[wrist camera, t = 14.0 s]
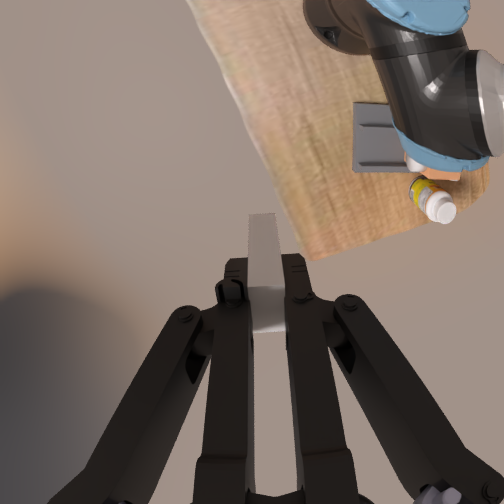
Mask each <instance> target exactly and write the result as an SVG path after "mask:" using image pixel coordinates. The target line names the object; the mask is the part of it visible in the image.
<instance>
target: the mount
mask: <svg viewBox="0 0 504 504" xmlns="http://www.w3.org/2000/svg"><path fill="white" fill-rule="evenodd" d="M404 155H405V150H404V149H403V147H402V145H401V142H400V139H399V136H398V133H397V131H396V129H395V127H394V126H393V123H392V113H391V110H390V107H389V104H374V103H354V102H353V165H352V170H353V171H354V172H405V173H420V172H411V171H410V170H409V169H408V167H407V164H406V162H405V161H404ZM451 181H458V180H451Z"/></svg>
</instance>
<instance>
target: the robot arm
mask: <svg viewBox="0 0 504 504" xmlns="http://www.w3.org/2000/svg"><path fill="white" fill-rule="evenodd" d="M469 9H470V0H303V12H304V16H305V19H306V22H307V24H308V26H309V27H310V29H311V30H312V32H313V33H314V34H315V35H316V37H317V38H318V39H320V40H321V41H322V42H323V43H324V44H326V45H327V46H329V47H330V48H332V49H334V50H336V51H339V52H342V53H345V54H350V55H368V54H371V56H372V59H373V62H374V64H375V67H376V70H377V72H378V75H379V78H380V80H381V83H382V86H383V89H384V92H385V95H386V98H387V101H388V104H389V107H390V110H391V113H392V123H393V126H394V127H395V129H396V131H397V133H398V136H399V139H400V142H401V145H402V147H403V149H404V150H405V152H406V153H407V155H408V156H409V157H410V158H412V159H413V160H414V161H416V162H417V163H419V164H421V165H423V166H425V167H428V168H431V169H435V170H439V171H445V172H462V170H463V169H464V170H467V171H473V170H477V169H479V168H481V167H482V166H484V165H485V164H486V163H487V162H488V160H489V157H490V156H493V157H500V156H501V155H502V154H503V153H504V64H502V63H500V62H498V61H497V60H496V59H495V58H494V57H493V56H491V55H490V54H489V53H488V52H487V51H485V50H469V49H468V46H467V43H466V40H465V37H464V34H463V31H462V28H461V27H463V25H464V24H465V23H466V21H467V20H468V14H467V11H468V10H469ZM248 241H249V242H248V243H249V244H248V257H247V258H232V259H230V260H229V261H228V262H227V264H226V265H225V273H224V279H223V280H221V281H219V282H218V283H217V284H216V287H215V292H216V297H217V302H218V304H217V305H215V306H213V307H212V308H209V309H206V310H202V311H200V310H199V309H198V308H197V307H194V306H190V305H189V306H188V305H187V306H182V307H179V308H177V309H176V310H175V311H174V312H173V313H172V314H171V316H170V317H169V319H168V321H167V322H166V324H165V326H164V328H163V329H162V331H161V333H160V334H159V336H158V338H157V339H156V341H155V343H154V344H153V346H152V348H151V349H150V351H149V353H148V355H147V357H146V358H145V360H144V361H143V363H142V365H141V367H140V368H139V370H138V372H137V374H136V375H135V377H134V379H133V381H132V382H131V385H130V386H129V388H128V389H127V391H126V393H125V395H124V397H123V398H122V400H121V402H120V404H119V406H118V408H117V409H116V411H115V413H114V415H113V417H112V418H111V420H110V422H109V424H108V425H107V428H106V429H105V431H104V433H103V435H102V437H101V438H100V440H99V442H98V444H97V446H96V448H95V450H94V452H93V453H92V455H91V457H90V459H89V461H88V463H87V465H86V467H85V469H84V470H83V471H81V472H80V473H79V474H78V475H77V476H76V477H75V478H74V479H73V480H72V481H71V482H69V483H68V484H67V485H66V486H65V487H64V488H63V489H62V490H60V491H59V492H58V493H57V494H56V495H55V496H54V497H53V498H51V499H50V501H49V502H48V503H47V504H148V503H149V501H150V499H151V497H152V495H153V493H154V491H155V488H156V486H157V484H158V481H159V479H160V476H161V474H162V472H163V470H164V467H165V465H166V463H167V460H168V458H169V456H170V453H171V451H172V449H173V446H174V443H175V441H176V439H177V437H178V434H179V432H180V430H181V427H182V425H183V423H184V420H185V418H186V415H187V413H188V411H189V408H190V406H191V404H192V401H193V399H194V397H195V394H196V392H197V390H198V387H199V385H200V383H201V380H202V377H203V375H204V373H205V370H206V368H207V366H208V364H209V361H210V359H211V365H210V375H209V384H208V393H207V403H206V413H205V423H204V434H203V445H202V453H201V456H200V457H199V458H198V460H197V462H196V468H195V480H194V493H193V502H192V503H190V504H374V503H373V502H372V501H371V500H369V499H368V498H366V497H365V496H363V495H361V494H359V493H358V489H357V481H356V475H355V468H354V462H353V457H352V453H351V451H350V449H348V448H347V445H346V441H345V435H344V429H343V424H342V419H341V413H340V407H339V402H338V396H337V391H336V386H335V381H334V376H333V371H332V367H331V361H330V356H329V351H328V347H329V348H330V351H331V352H332V354H333V356H334V358H335V360H336V361H337V363H338V365H339V367H340V369H341V371H342V372H343V374H344V376H345V378H346V380H347V382H348V384H349V386H350V387H351V389H352V391H353V393H354V395H355V397H356V399H357V400H358V402H359V404H360V406H361V408H362V409H363V411H364V413H365V415H366V417H367V419H368V421H369V423H370V425H371V427H372V428H373V430H374V432H375V434H376V436H377V438H378V440H379V442H380V444H381V446H382V447H383V449H384V451H385V453H386V455H387V457H388V459H389V461H390V463H391V465H392V467H393V469H394V471H395V472H396V474H397V476H398V478H399V480H400V482H401V483H402V485H403V487H404V488H405V490H406V491H407V492H408V493H409V495H410V496H411V497H412V498H413V499H414V500H415V501H414V502H413V504H500V503H501V501H502V500H503V499H504V478H503V476H502V475H501V474H500V473H498V472H496V470H494V469H493V468H492V467H490V466H489V465H487V464H486V463H485V462H484V461H482V460H481V459H480V458H478V457H477V456H476V455H474V454H473V453H472V452H471V451H469V450H468V449H466V448H465V446H464V445H463V443H462V442H461V440H460V438H459V437H458V435H457V433H456V432H455V430H454V429H453V427H452V426H451V424H450V422H449V421H448V419H447V418H446V416H445V415H444V413H443V412H442V410H441V409H440V407H439V406H438V404H437V403H436V401H435V400H434V398H433V397H432V395H431V394H430V392H429V391H428V389H427V388H426V386H425V385H424V383H423V382H422V380H421V379H420V378H419V376H418V375H417V373H416V372H415V370H414V369H413V367H412V366H411V365H410V363H409V362H408V360H407V359H406V358H405V356H404V355H403V353H402V352H401V351H400V349H399V348H398V346H397V345H396V344H395V342H394V341H393V340H392V338H391V337H390V335H389V334H388V333H387V331H386V330H385V329H384V327H383V326H382V325H381V323H380V322H379V321H378V319H377V318H376V317H375V315H374V314H373V313H372V311H371V310H370V309H369V308H368V306H367V305H366V303H365V302H364V301H363V300H362V299H361V298H360V297H358V296H356V295H352V294H346V295H341V296H339V297H338V298H337V299H336V300H335V302H334V301H327V300H323V299H321V298H319V297H317V296H316V295H315V293H314V292H313V291H312V288H311V283H310V279H309V275H308V271H307V267H306V262H305V259H304V258H303V257H302V256H301V255H300V254H299V253H296V254H282V255H281V252H280V245H279V238H278V231H277V224H276V217H275V213H268V214H254V215H249V240H248ZM275 331H286V350H287V357H288V367H289V379H290V391H291V402H292V414H293V427H294V440H295V452H296V453H295V454H296V468H297V491H295V492H292V493H289V494H285V495H282V496H278V497H271V496H266V495H260V494H256V493H255V492H256V490H255V478H254V341H253V333H259V332H275ZM327 346H328V347H327ZM211 355H212V356H211Z"/></svg>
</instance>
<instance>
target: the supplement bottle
mask: <svg viewBox="0 0 504 504" xmlns="http://www.w3.org/2000/svg"><path fill="white" fill-rule="evenodd" d="M409 197H410V199H411V200H412V201H413V202H414V203H415V204H416V205H417V206H418V208H419V209H420V210H421V211H422V212H423V213H424V214H425V215H426V216H427V217H428V218H429V219H431V220H432V221H434V222H440V223H442V224H447V223H450V222H451V221H452V220H453V219H454V217H455V215H456V206H455V205H454V204H453V200H452V197H451V196H450V194H449V193H448V192H446V191H445V190H444V189H442V188H441V187H440V186H438V185H437V184H436V183H435V182H433V181H432V180H431V179H428V178H427V177H424V176H421V177H417V178H416V179H414V180H413V181H412V183H411V184H410V187H409Z"/></svg>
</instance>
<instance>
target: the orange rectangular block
mask: <svg viewBox="0 0 504 504" xmlns="http://www.w3.org/2000/svg"><path fill="white" fill-rule="evenodd" d="M404 161H405V162H406V164H407V167H408V169H409V170H410V171H411V172H420V173H422V174H423V175H424V176H426V177H427V178H428V179H444V180H460V174H461V172H445V171H439V170H435V169H431V168H428V167H425V166H423V165H421V164H419V163H417V162H416V161H414V160H413V159H412V158H410V157H409V156H408V155H407V153H406V152H405V155H404Z"/></svg>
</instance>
